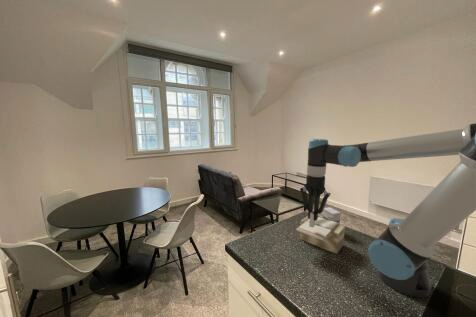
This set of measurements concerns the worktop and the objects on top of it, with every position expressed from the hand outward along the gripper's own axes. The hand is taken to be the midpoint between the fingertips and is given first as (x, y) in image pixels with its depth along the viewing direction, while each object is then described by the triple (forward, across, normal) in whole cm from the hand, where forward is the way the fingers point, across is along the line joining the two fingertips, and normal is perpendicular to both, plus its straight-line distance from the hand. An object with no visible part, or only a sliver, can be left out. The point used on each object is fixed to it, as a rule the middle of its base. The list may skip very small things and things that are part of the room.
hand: (312, 225), depth 88 cm
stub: (+3, 0, -2) cm, 4 cm away
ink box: (+14, +1, -28) cm, 31 cm away
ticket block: (+13, 0, -12) cm, 18 cm away
